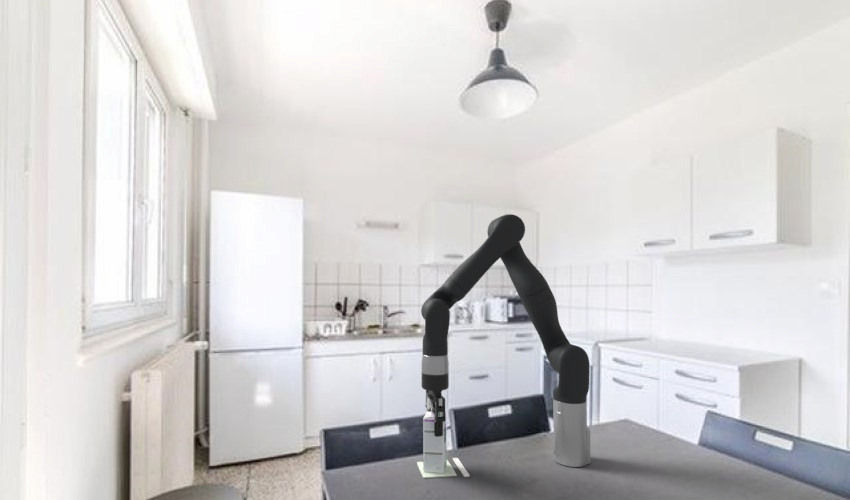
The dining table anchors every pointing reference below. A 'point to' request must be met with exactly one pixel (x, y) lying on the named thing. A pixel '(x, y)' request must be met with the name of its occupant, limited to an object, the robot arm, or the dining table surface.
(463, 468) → the white line strip
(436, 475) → the mat
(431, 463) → the syrup box
